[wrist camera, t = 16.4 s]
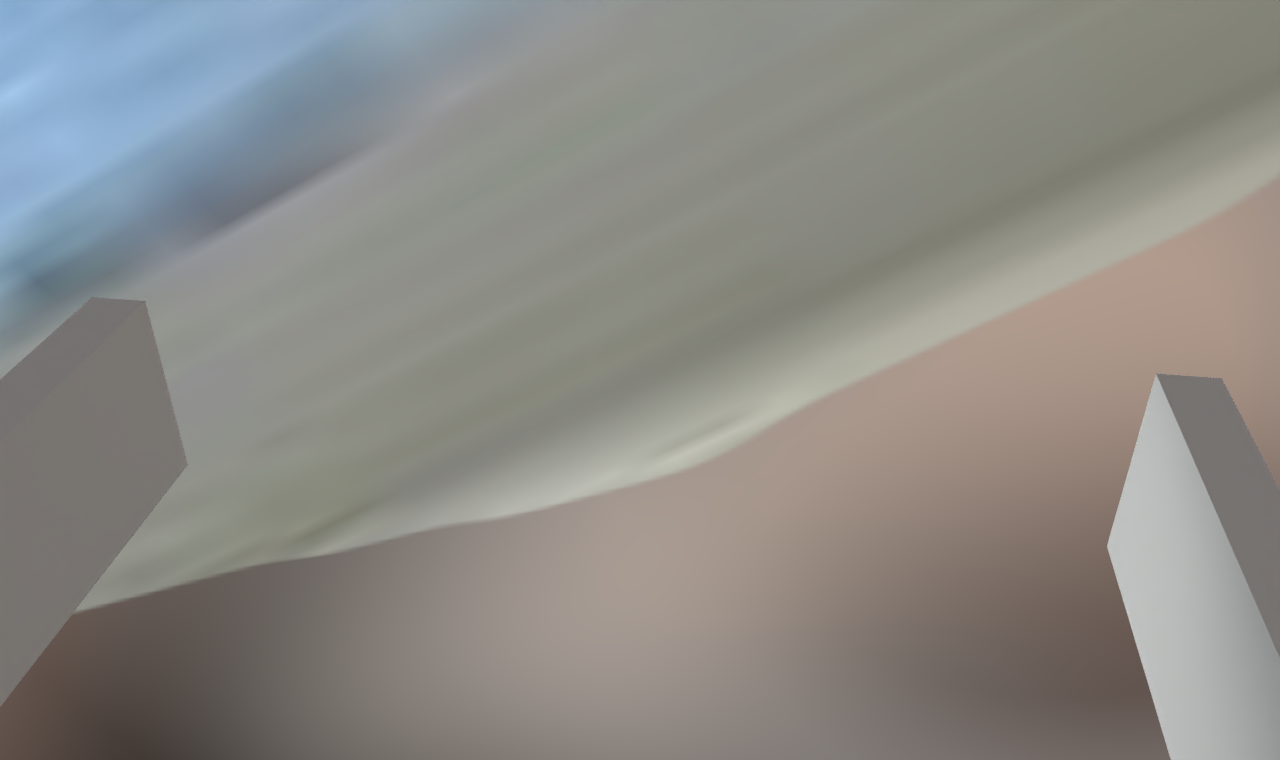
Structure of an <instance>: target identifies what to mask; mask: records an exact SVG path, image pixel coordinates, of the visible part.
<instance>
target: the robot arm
mask: <svg viewBox="0 0 1280 760" xmlns="http://www.w3.org/2000/svg"><path fill="white" fill-rule="evenodd" d="M187 465H188V464H187V460H186V456H185V452H184V448H183V445H182V441H181V437H180V433H179V429H178V425H177V422H176V418H175V414H174V410H173V406H172V402H171V398H170V395H169V391H168V387H167V383H166V379H165V375H164V371H163V368H162V364H161V360H160V356H159V352H158V348H157V345H156V341H155V337H154V333H153V329H152V325H151V321H150V318H149V314H148V310H147V306H146V302H145V301H137V300H123V299H109V298H95V297H92V298H91V299H90V300H89V301H88V302H86V303H85V304H84V305H83V306H82V307H81V308H80V309H79V310H78V311H76V312H75V313H74V314H73V315H72V316H71V317H70V318H69V319H67V320H66V321H65V322H64V323H63V324H62V325H61V326H60V327H59V328H57V329H56V330H55V331H54V332H53V333H52V334H51V335H50V336H49V337H47V338H46V339H45V340H44V341H43V342H42V343H41V344H40V345H39V346H37V347H36V348H35V349H34V350H33V351H32V352H31V353H30V354H29V355H27V356H26V357H25V358H24V359H23V360H22V361H21V362H20V363H18V364H17V365H16V366H15V367H14V368H13V369H12V370H11V371H10V372H8V373H7V374H6V375H5V376H4V377H3V378H2V379H1V380H0V706H1V705H2V704H3V702H4V701H5V700H6V698H7V697H8V696H9V694H10V693H11V692H12V691H13V689H14V688H15V687H16V686H17V684H18V683H19V682H20V680H21V679H22V678H23V676H24V675H25V674H26V673H27V671H28V670H29V669H30V667H31V666H32V665H33V664H34V662H35V661H36V660H37V658H38V657H39V656H40V655H41V653H42V652H43V651H44V649H45V648H46V647H47V645H48V644H49V643H50V641H51V640H52V639H53V638H54V637H55V635H56V634H57V632H58V631H59V630H60V629H61V628H62V626H63V625H64V624H65V622H66V621H67V619H68V618H69V617H70V616H71V615H72V613H73V612H74V611H75V609H76V608H77V607H78V606H79V604H80V603H81V602H82V600H83V599H84V598H85V597H86V595H87V594H88V593H89V591H90V590H91V589H92V588H93V586H94V585H95V584H96V582H97V581H98V580H99V578H100V577H101V576H102V575H103V573H104V572H105V571H106V569H107V568H108V567H109V566H110V564H111V563H112V562H113V560H114V559H115V558H116V557H117V555H118V554H119V553H120V551H121V550H122V549H123V548H124V546H125V545H126V544H127V542H128V541H129V540H130V538H131V537H132V536H133V535H134V533H135V532H136V531H137V529H138V528H139V527H140V526H141V524H142V523H143V522H144V520H145V519H146V518H147V517H148V515H149V514H150V513H151V511H152V510H153V509H154V508H155V506H156V505H157V504H158V502H159V501H160V500H161V498H162V497H163V496H164V495H165V493H166V492H167V491H168V489H169V488H170V487H171V486H172V484H173V483H174V482H175V480H176V479H177V478H178V477H179V475H180V474H181V473H182V471H183V470H184V469H185V468H186V466H187ZM1107 548H1108V551H1109V554H1110V558H1111V561H1112V564H1113V568H1114V571H1115V574H1116V577H1117V581H1118V584H1119V588H1120V591H1121V594H1122V598H1123V601H1124V604H1125V607H1126V611H1127V615H1128V618H1129V621H1130V625H1131V628H1132V631H1133V635H1134V638H1135V641H1136V645H1137V648H1138V651H1139V654H1140V658H1141V661H1142V665H1143V668H1144V671H1145V675H1146V678H1147V681H1148V685H1149V688H1150V691H1151V695H1152V698H1153V701H1154V705H1155V708H1156V711H1157V715H1158V718H1159V721H1160V725H1161V728H1162V731H1163V735H1164V738H1165V741H1166V745H1167V748H1168V751H1169V755H1170V758H1171V760H1280V489H1279V488H1278V486H1277V484H1276V482H1275V480H1274V478H1273V476H1272V474H1271V472H1270V470H1269V468H1268V467H1267V464H1266V463H1265V461H1264V459H1263V457H1262V455H1261V453H1260V451H1259V449H1258V447H1257V445H1256V443H1255V441H1254V439H1253V438H1252V436H1251V434H1250V432H1249V430H1248V428H1247V426H1246V424H1245V422H1244V420H1243V418H1242V417H1241V415H1240V413H1239V411H1238V409H1237V407H1236V405H1235V403H1234V401H1233V399H1232V397H1231V395H1230V393H1229V391H1228V390H1227V388H1226V386H1225V384H1224V382H1223V380H1222V379H1221V378H1207V377H1194V376H1179V375H1166V374H1156V376H1155V379H1154V383H1153V387H1152V390H1151V394H1150V397H1149V401H1148V404H1147V408H1146V411H1145V415H1144V419H1143V422H1142V425H1141V429H1140V432H1139V436H1138V439H1137V443H1136V447H1135V450H1134V453H1133V457H1132V460H1131V464H1130V467H1129V471H1128V474H1127V478H1126V482H1125V485H1124V489H1123V492H1122V496H1121V499H1120V503H1119V506H1118V510H1117V513H1116V517H1115V520H1114V524H1113V527H1112V531H1111V535H1110V538H1109V541H1108V545H1107Z"/></svg>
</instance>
